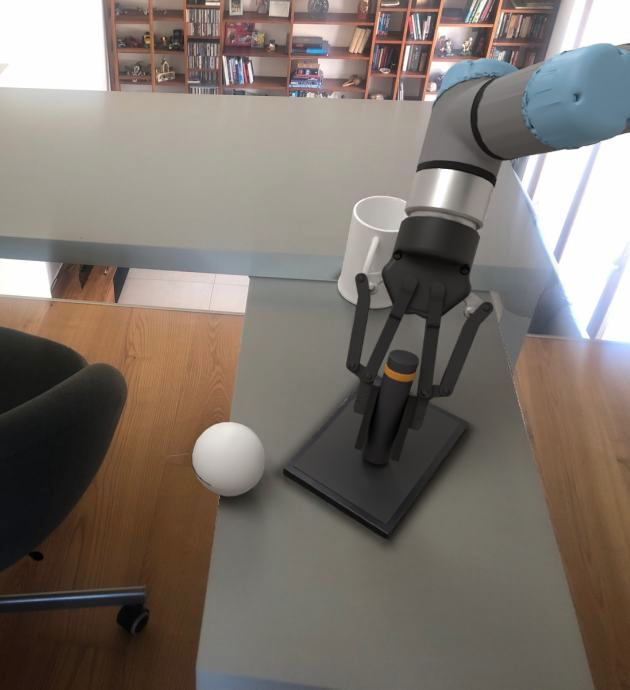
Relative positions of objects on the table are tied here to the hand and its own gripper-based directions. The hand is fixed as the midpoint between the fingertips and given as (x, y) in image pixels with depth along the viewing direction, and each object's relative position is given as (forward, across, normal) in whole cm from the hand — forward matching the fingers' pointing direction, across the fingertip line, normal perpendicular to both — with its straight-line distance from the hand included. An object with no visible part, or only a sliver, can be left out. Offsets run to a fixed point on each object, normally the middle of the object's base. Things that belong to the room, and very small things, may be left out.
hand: (376, 453), depth 69 cm
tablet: (0, 0, -6) cm, 6 cm away
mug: (-18, +6, -24) cm, 30 cm away
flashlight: (+1, 0, -3) cm, 3 cm away
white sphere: (+7, +15, +1) cm, 16 cm away
